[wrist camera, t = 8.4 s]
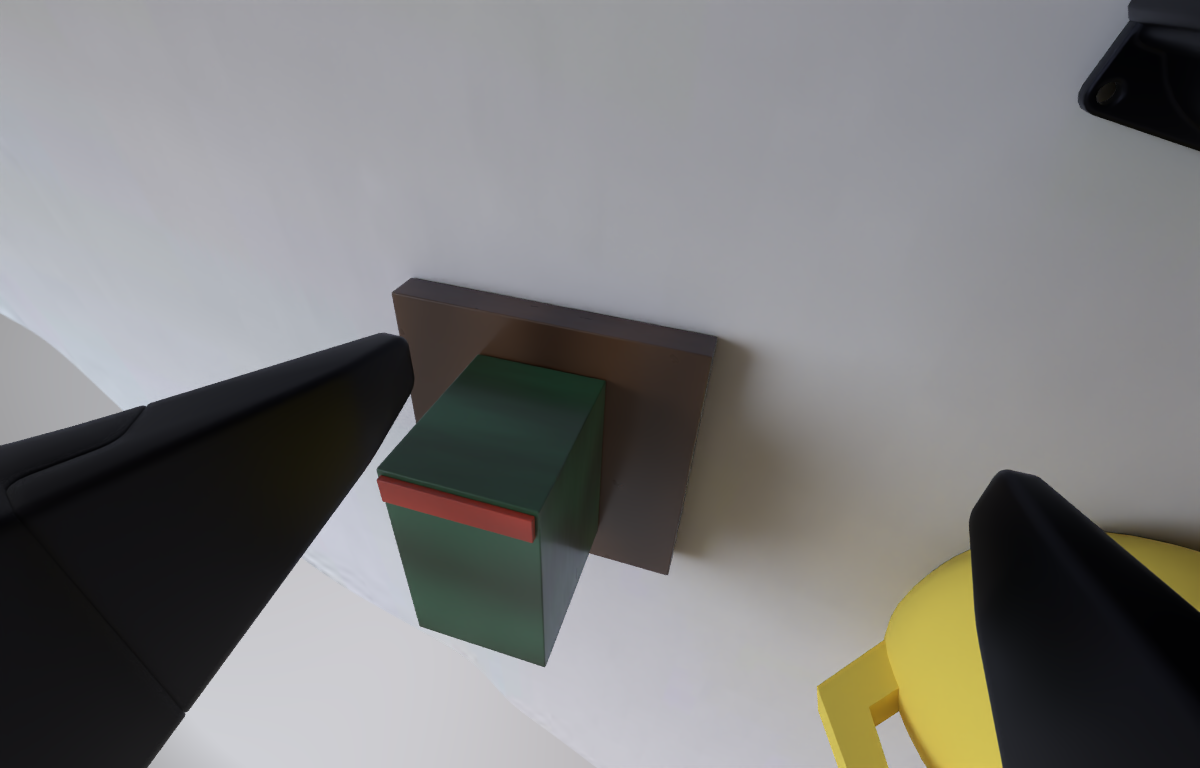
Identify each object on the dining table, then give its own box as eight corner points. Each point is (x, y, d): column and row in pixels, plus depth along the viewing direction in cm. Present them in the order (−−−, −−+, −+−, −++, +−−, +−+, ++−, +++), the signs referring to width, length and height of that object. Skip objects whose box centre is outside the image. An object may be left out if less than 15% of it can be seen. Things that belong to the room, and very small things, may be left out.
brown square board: (718, 336, 21) (712, 357, 20) (673, 552, 29) (667, 576, 28) (411, 277, 24) (390, 292, 23) (445, 489, 31) (431, 508, 30)
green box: (598, 530, 27) (542, 674, 22) (493, 502, 28) (415, 632, 23) (606, 380, 22) (536, 518, 16) (477, 353, 23) (370, 474, 17)
